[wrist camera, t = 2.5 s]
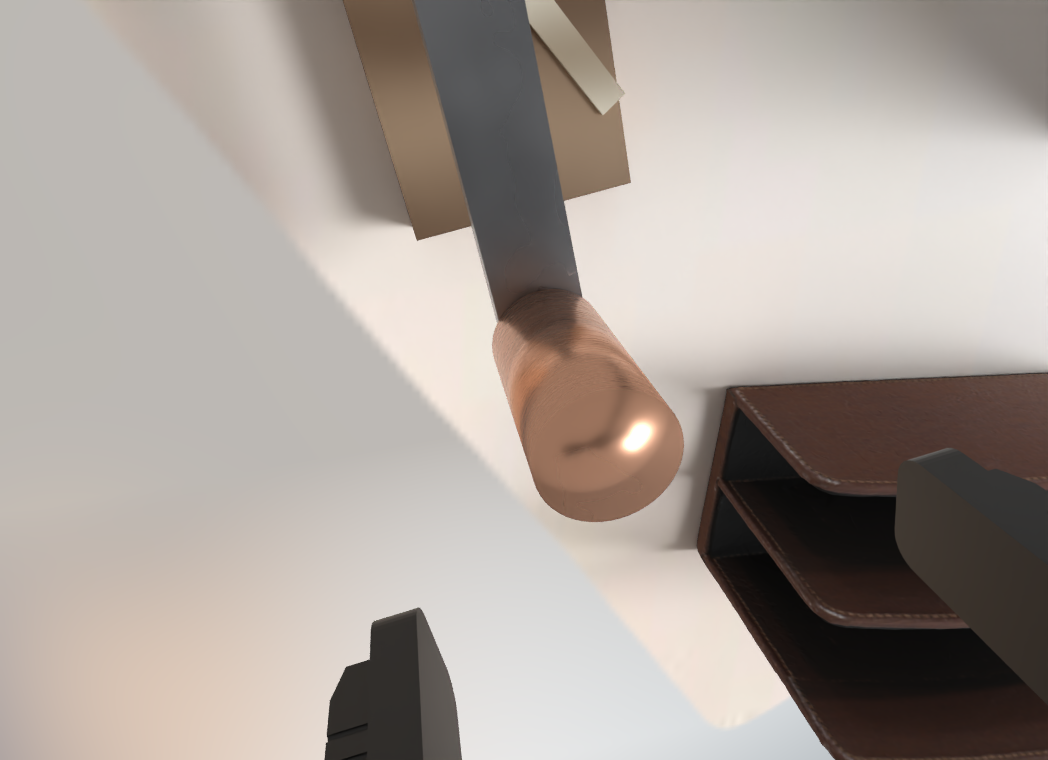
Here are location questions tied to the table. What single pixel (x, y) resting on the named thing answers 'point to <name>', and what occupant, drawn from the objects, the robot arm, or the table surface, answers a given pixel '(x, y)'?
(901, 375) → the table surface
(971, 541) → the robot arm
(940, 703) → the letter holder
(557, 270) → the lever
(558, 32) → the press bench
